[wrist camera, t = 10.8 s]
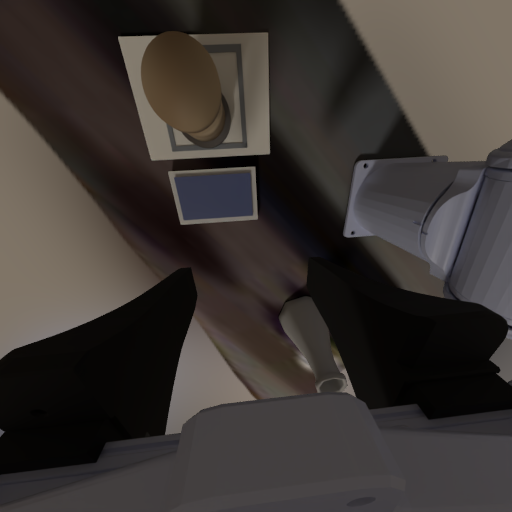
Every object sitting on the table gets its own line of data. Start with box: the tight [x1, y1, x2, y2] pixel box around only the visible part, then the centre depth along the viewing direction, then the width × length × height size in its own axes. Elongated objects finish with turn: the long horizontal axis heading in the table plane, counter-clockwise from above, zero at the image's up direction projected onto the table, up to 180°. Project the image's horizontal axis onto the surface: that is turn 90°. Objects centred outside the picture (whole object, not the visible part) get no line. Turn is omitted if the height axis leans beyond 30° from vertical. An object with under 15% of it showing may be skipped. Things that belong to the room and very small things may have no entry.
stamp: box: [141, 31, 231, 148], centre depth 13 cm, size 4×4×7 cm
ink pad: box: [168, 167, 258, 225], centre depth 18 cm, size 8×5×1 cm, turn 93°
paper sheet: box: [118, 33, 270, 161], centre depth 15 cm, size 11×8×1 cm
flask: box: [278, 296, 347, 393], centre depth 23 cm, size 7×7×10 cm
